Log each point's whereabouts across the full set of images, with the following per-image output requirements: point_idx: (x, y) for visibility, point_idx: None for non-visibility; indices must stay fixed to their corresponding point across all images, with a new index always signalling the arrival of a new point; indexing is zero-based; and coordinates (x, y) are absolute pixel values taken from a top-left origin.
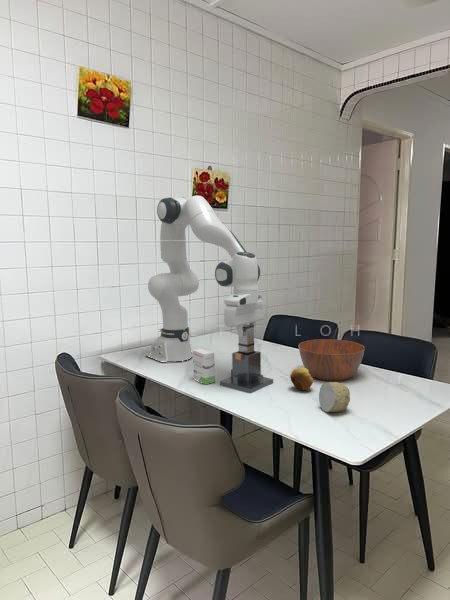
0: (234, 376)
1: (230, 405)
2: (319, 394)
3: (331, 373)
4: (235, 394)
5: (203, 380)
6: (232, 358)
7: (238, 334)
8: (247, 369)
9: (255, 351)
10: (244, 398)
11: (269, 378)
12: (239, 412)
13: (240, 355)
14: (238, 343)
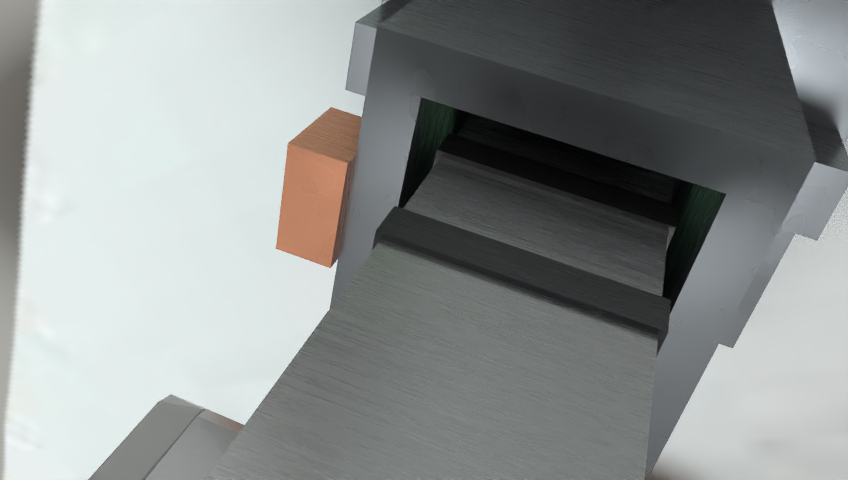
0: (357, 43)
1: (68, 132)
2: None
3: None
4: (275, 79)
5: None
6: (415, 3)
7: (134, 432)
8: None
9: (653, 397)
10: (237, 184)
11: (746, 310)
12: (22, 229)
13: (282, 238)
14: (378, 234)
